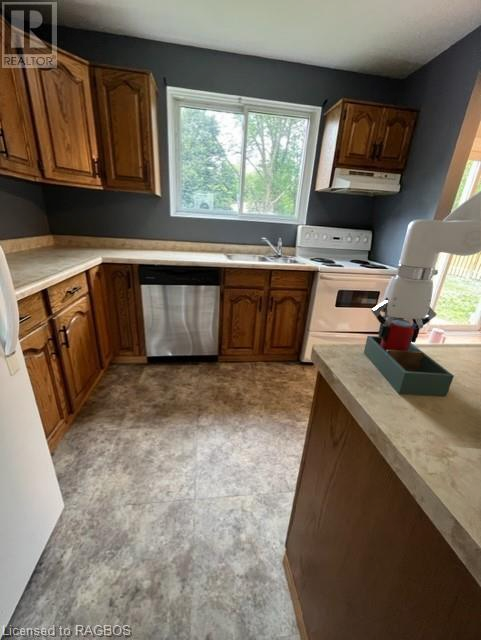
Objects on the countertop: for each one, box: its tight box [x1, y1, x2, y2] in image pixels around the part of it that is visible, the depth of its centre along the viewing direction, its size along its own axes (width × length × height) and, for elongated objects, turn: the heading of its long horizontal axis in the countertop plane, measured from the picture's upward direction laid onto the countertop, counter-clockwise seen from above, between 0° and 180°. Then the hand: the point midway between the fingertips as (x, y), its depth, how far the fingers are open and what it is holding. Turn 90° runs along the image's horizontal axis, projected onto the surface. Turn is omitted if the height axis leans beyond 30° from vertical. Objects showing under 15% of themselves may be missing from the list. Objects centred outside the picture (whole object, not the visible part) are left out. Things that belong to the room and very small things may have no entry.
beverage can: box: [380, 318, 414, 351], centre depth 73 cm, size 7×7×12 cm
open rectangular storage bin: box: [363, 335, 455, 398], centre depth 69 cm, size 11×20×6 cm, turn 178°
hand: (396, 339), depth 73 cm, fingers closed on beverage can, 6 cm apart
